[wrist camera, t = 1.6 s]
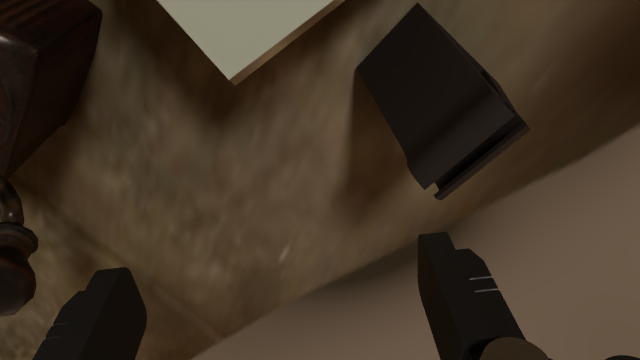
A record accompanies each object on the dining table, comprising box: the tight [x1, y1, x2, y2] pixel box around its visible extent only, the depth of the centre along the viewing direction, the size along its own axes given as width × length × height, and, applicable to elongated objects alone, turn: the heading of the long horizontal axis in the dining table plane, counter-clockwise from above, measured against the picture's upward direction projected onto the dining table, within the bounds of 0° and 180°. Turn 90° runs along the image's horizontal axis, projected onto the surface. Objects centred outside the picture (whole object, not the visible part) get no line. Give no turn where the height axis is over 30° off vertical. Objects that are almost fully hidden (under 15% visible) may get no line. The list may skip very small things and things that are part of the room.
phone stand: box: [357, 2, 530, 200], centre depth 29 cm, size 9×6×12 cm, turn 49°
